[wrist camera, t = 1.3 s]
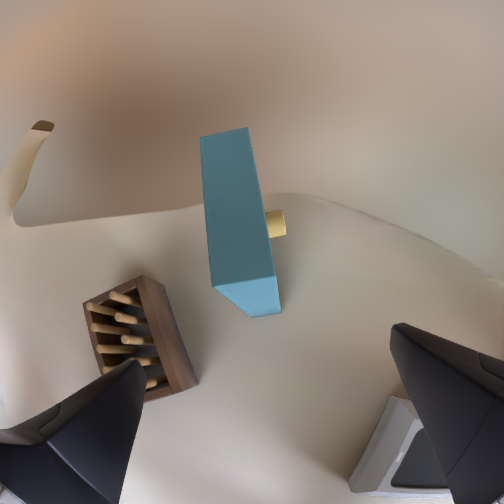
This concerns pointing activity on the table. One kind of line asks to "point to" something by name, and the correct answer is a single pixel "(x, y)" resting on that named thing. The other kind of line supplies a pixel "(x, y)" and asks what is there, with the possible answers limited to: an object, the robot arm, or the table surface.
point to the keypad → (399, 458)
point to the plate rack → (140, 336)
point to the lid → (239, 224)
